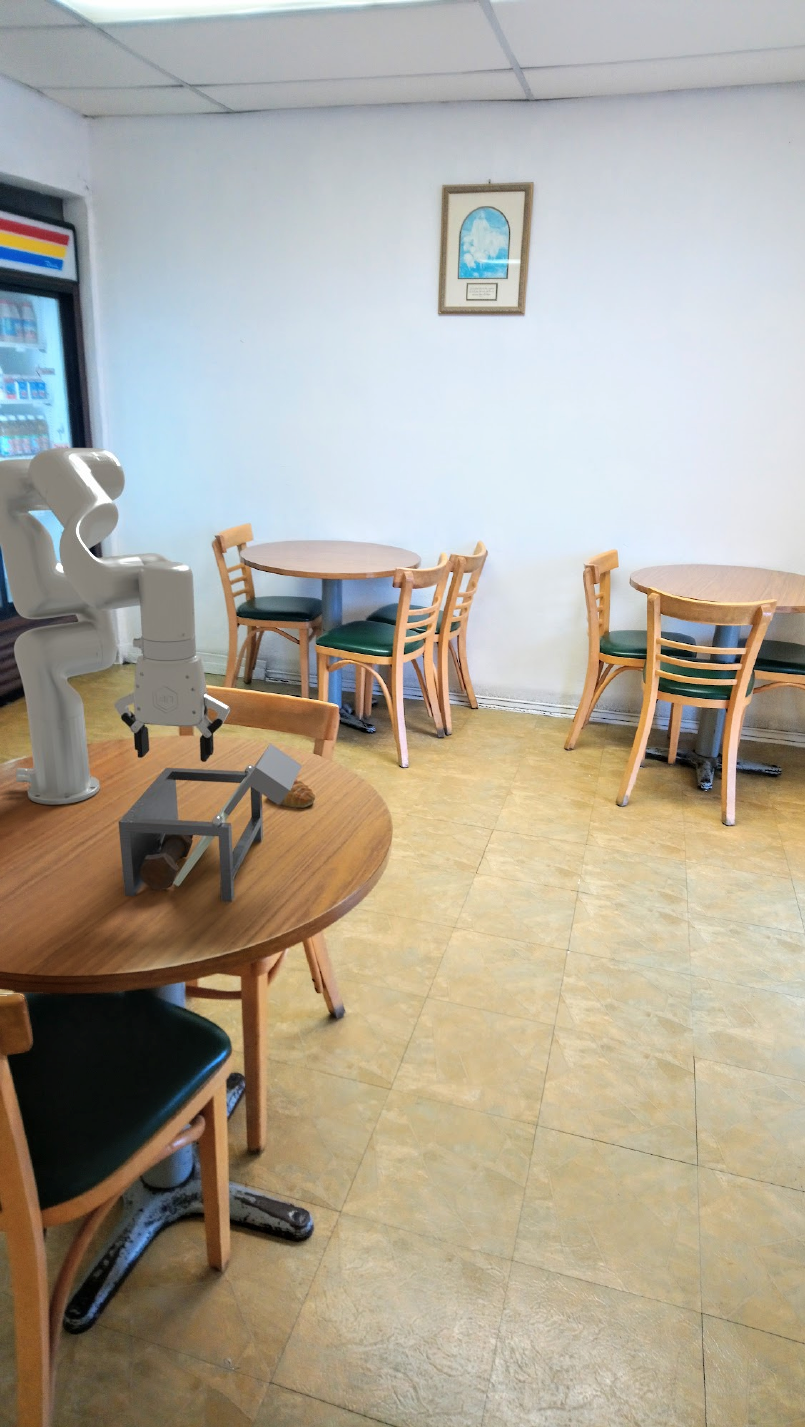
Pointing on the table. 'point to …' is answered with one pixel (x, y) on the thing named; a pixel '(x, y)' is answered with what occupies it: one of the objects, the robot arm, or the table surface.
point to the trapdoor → (267, 778)
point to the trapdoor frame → (183, 826)
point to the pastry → (299, 796)
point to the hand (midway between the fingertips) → (174, 756)
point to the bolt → (165, 861)
